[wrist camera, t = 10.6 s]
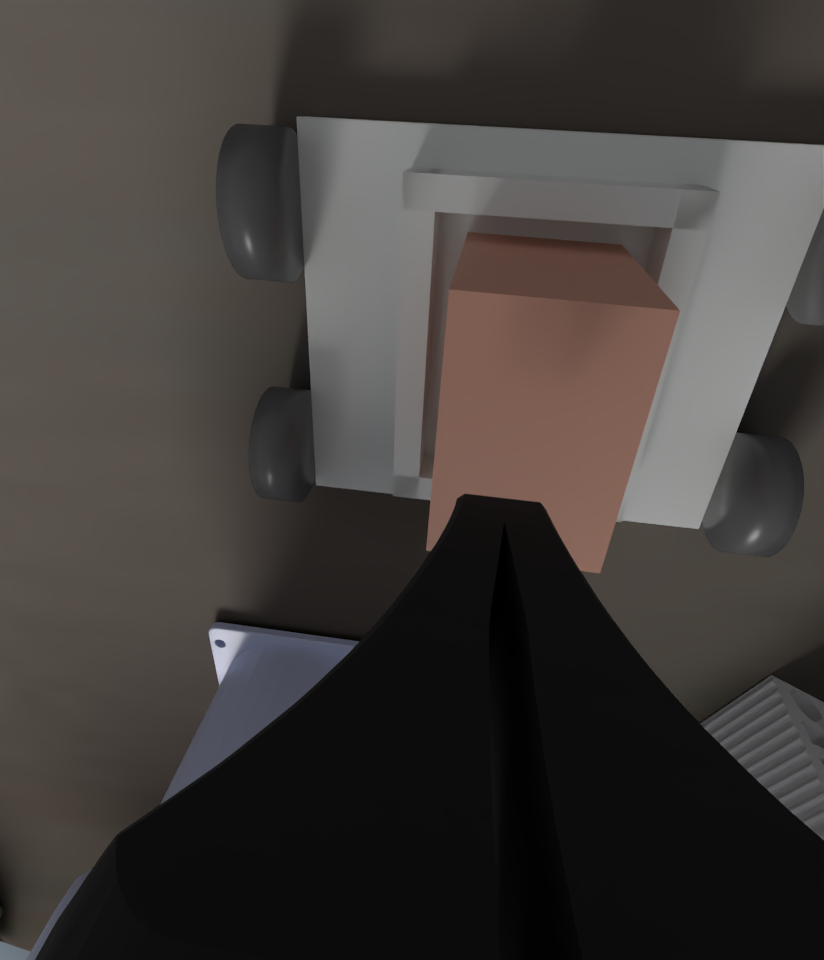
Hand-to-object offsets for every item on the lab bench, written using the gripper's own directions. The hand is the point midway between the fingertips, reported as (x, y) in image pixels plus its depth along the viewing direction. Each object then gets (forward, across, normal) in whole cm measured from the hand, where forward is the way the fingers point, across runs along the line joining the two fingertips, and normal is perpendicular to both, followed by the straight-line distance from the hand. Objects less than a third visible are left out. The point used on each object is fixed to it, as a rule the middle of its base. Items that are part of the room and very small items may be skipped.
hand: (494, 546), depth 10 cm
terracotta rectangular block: (+9, -1, 0) cm, 9 cm away
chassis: (+10, -1, 0) cm, 10 cm away
